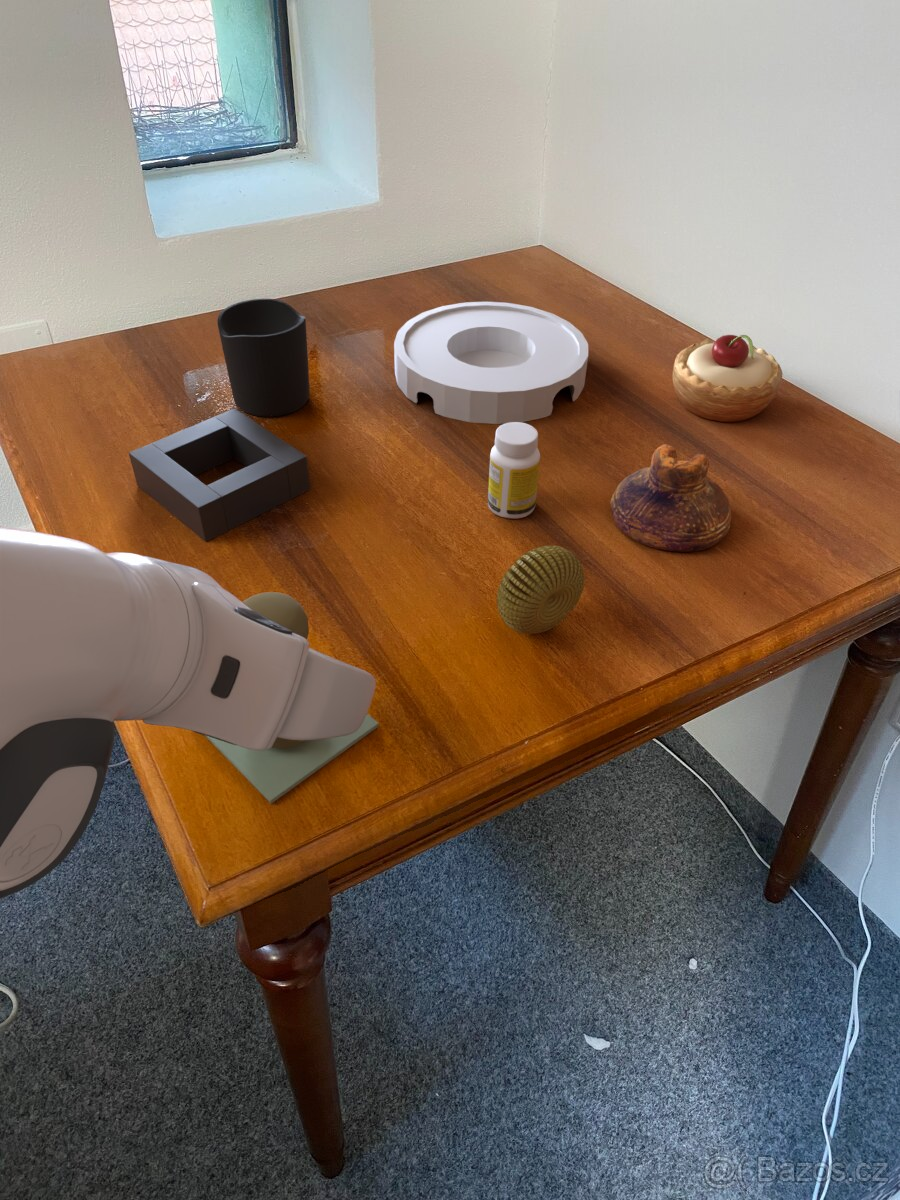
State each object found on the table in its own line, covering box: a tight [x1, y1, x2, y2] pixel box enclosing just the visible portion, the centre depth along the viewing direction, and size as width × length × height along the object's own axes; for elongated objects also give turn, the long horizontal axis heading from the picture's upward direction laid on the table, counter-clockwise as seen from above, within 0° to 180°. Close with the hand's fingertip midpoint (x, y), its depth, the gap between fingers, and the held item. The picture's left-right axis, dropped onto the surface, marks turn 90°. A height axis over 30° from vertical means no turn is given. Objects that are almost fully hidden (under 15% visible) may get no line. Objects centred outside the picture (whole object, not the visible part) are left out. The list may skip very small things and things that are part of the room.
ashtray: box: [393, 301, 589, 425], centre depth 106 cm, size 23×23×4 cm
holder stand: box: [128, 408, 311, 543], centre depth 87 cm, size 12×12×4 cm
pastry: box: [671, 334, 783, 423], centre depth 100 cm, size 12×12×9 cm
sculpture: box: [496, 544, 585, 635], centre depth 72 cm, size 8×4×8 cm, turn 123°
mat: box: [203, 713, 380, 804], centre depth 66 cm, size 10×10×1 cm
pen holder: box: [217, 298, 310, 418], centre depth 98 cm, size 9×9×10 cm
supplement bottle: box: [487, 422, 541, 520], centre depth 84 cm, size 5×5×8 cm
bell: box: [609, 443, 733, 553], centre depth 84 cm, size 12×12×7 cm
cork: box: [241, 591, 310, 749], centre depth 62 cm, size 6×6×11 cm
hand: (280, 652), depth 62 cm, fingers closed on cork, 5 cm apart
